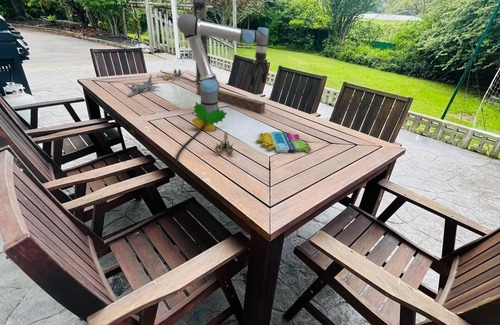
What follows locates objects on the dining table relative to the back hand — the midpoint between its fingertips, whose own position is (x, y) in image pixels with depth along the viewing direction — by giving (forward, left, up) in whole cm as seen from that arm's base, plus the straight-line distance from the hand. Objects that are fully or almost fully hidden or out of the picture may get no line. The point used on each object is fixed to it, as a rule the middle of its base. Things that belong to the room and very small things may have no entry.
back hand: (203, 69), depth 221 cm
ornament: (+70, -38, -22) cm, 82 cm away
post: (+28, +6, -22) cm, 36 cm away
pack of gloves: (+110, -13, -22) cm, 113 cm away
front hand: (+57, +12, -1) cm, 58 cm away
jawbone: (+101, -48, -22) cm, 113 cm away
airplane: (-34, -41, -22) cm, 58 cm away
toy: (-74, +4, -22) cm, 77 cm away
